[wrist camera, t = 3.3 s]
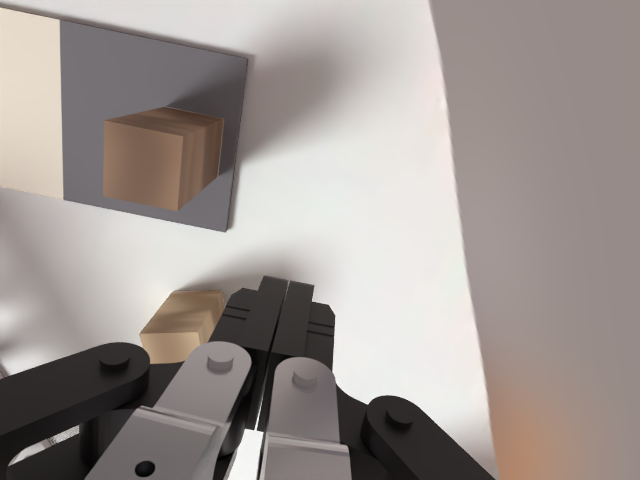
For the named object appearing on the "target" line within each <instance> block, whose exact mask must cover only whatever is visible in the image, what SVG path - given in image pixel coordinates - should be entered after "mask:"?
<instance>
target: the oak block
mask: <svg viewBox="0 0 640 480" xmlns="http://www.w3.org/2000/svg"><path fill="white" fill-rule="evenodd" d="M224 309H225V304H224V298H223V292H222V290H204V291H176V292H172V293H171V294H170V296H169V297H168V298H167V299H166V301H165V302H164V303H163V304H162V306H161V307H160V308H159V310H158V311H157V312H156V313H155V315H154V316H153V317H152V318H151V320H150V321H149V322H148V324H147V325H146V326H145V327H144V329H143V330H142V331H141V332H140V338H141V342H142V346H143V349H144V350H145V351H146V352H147V353H148V354H149V357H150V364H159V363H176V362H182V361H185V360H186V359H187V358H188V356H189V355H190V353H191V352H192V351H193V350H194V349H195V348H196V347H198V346H200V345H202V344H205V343H207V342H208V340H209V339H210V337H211V335H212V333H213V331H214V329H215V327H216V325H217V323H218V321H219V319H220V317H221V316H222V313H223V311H224Z"/></svg>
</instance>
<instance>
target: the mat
mask: <svg viewBox="0 0 640 480" xmlns="http://www.w3.org/2000/svg"><path fill="white" fill-rule="evenodd" d="M247 63H248V59H246V58H241V57H237V56H232V55H227V54H222V53H217V52H213V51H208V50H203V49H198V48H193V47H188V46H184V45H179V44H174V43H169V42H164V41H159V40H155V39H150V38H145V37H140V36H135V35H131V34H126V33H121V32H116V31H111V30H106V29H102V28H97V27H92V26H87V25H82V24H78V23H73V22H68V21H63V20H58V19H53V18H49V17H44V16H39V15H34V14H29V13H24V12H20V11H15V10H10V9H5V8H0V187H3V188H8V189H13V190H18V191H23V192H28V193H33V194H37V195H42V196H47V197H52V198H57V199H62V200H67V201H72V202H77V203H82V204H87V205H92V206H97V207H102V208H107V209H112V210H117V211H122V212H127V213H132V214H136V215H141V216H146V217H151V218H156V219H161V220H166V221H171V222H176V223H181V224H186V225H191V226H196V227H201V228H206V229H211V230H216V231H221V232H226V231H227V225H228V217H229V209H230V201H231V193H232V184H233V176H234V168H235V160H236V152H237V144H238V136H239V128H240V119H241V111H242V103H243V95H244V87H245V79H246V71H247ZM161 107H170V108H175V109H180V110H185V111H189V112H194V113H199V114H204V115H209V116H214V117H219V118H223V119H224V127H223V136H222V145H221V154H220V163H219V173H218V177H217V178H216V179H215V180H213V181H212V182H211V183H210V184H209V185H208V186H206V187H205V188H204V189H203V190H202V191H200V192H199V193H198V194H197V195H196V196H195V197H193V198H192V199H191V200H190V201H189V202H188V203H186V204H185V205H184V206H183V207H182V208H180V209H179V210H178V211H173V210H169V209H164V208H159V207H154V206H149V205H144V204H139V203H134V202H129V201H124V200H119V199H114V198H109V197H104V196H103V165H104V120H108V119H112V118H117V117H121V116H125V115H130V114H134V113H139V112H143V111H148V110H152V109H157V108H161Z"/></svg>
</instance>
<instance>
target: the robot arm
mask: <svg viewBox="0 0 640 480" xmlns="http://www.w3.org/2000/svg"><path fill="white" fill-rule="evenodd" d="M287 286H288V280H285V279H280V278H275V277H270V276H265V275H264V277H263V279H262V282H261V284H260V287H259V289H258V291H255V290H250V289H245V288H242V289H240V290H239V291H237V292H236V293H234V294H233V295H231V297H230V299H229V301H228V303H227V305H226V307H225V309H224V311H223V313H222V316H221V317H220V319H219V321H218V323H217V325H216V327H215V329H214V331H213V333H212V335H211V337H210V339H209V340H208V342H207V343H205V344H202V345H200V346H198V347H196V348H195V349H194V350H193V351H192V352H191V353H190V355H189V356H188V358H187V359H186V360H185V361H182V362H176V363H159V364H150V357H149V354H148V353H147V352H146V351H145V350H144V349H143V348H141V347H139V346H137V345H134V344H130V343H124V342H116V343H108V344H103V345H100V346H97V347H94V348H91V349H88V350H85V351H82V352H79V353H76V354H73V355H70V356H67V357H64V358H61V359H58V360H55V361H52V362H49V363H46V364H43V365H40V366H37V367H34V368H31V369H28V370H26V371H23V372H20V373H17V374H14V375H11V376H8V377H5V378H2V379H0V480H227V479H228V476H229V474H230V471H231V469H232V466H233V463H234V461H235V458H236V455H237V449H238V446H239V444H240V443H241V440H242V437H243V433H244V430H245V429H250V430H254V429H255V425H256V421H257V417H258V413H259V409H260V406H261V411H260V416H259V422H258V427H257V431H261V432H264V433H263V438H262V444H261V449H260V454H259V460H258V466H257V473H256V480H495V479H494V478H493V477H492V476H491V475H490V474H489V473H488V472H487V471H486V470H485V469H484V468H483V467H481V466H480V465H479V464H478V463H477V462H476V461H475V460H474V459H473V458H472V457H471V456H470V455H469V454H468V453H467V452H466V451H465V450H464V449H462V448H461V447H460V446H459V445H458V444H457V443H456V442H455V441H454V440H453V439H452V438H451V437H450V436H449V435H448V434H447V433H446V432H445V431H443V430H442V429H441V428H440V427H439V426H438V425H437V424H436V423H435V422H434V421H433V420H432V419H431V418H430V417H429V416H428V415H427V414H426V413H424V412H423V411H422V410H421V409H420V408H419V407H418V406H416V405H415V404H414V403H412V402H410V401H408V400H406V399H403V398H400V397H397V396H388V395H386V396H380V397H377V398H375V399H373V400H372V401H371V402H370V403H369V404H368V405H367V404H365V403H363V402H360V401H358V400H356V399H354V398H352V397H350V396H349V395H347V394H346V393H345V392H343V391H342V390H341V389H340V388H339V387H338V385H337V384H336V381H335V377H334V374H333V373H332V367H333V349H334V330H335V329H334V328H335V315H334V313H333V311H332V310H331V308H330V306H329V305H326V304H321V303H316V302H312V296H313V290H314V285H311V284H306V283H301V282H296V281H291V280H290V283H289V287H288V291H287ZM286 292H287V295H286ZM285 297H286V298H285ZM262 398H263V400H262ZM261 402H262V405H261ZM77 425H79V434H76V435H74V436H72V437H70V438H68V439H66V440H64V441H61V442H59V443H57V444H55V445H53V446H51V447H48V448H46V449H44V450H42V451H40V452H38V453H36V454H33V455H31V456H29V457H27V458H25V459H23V460H20V461H18V462H16V463H14V464H12V465H10V466H8V465H9V463H10V462H11V461H12V459H13V458H14V457H15V456H16V455H17V454H19V453H20V452H21V451H23V450H24V449H26V448H28V447H30V446H32V445H35V444H37V443H39V442H41V441H43V440H46V439H48V438H50V437H52V436H55V435H57V434H59V433H61V432H63V431H66V430H68V429H70V428H72V427H75V426H77Z"/></svg>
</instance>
